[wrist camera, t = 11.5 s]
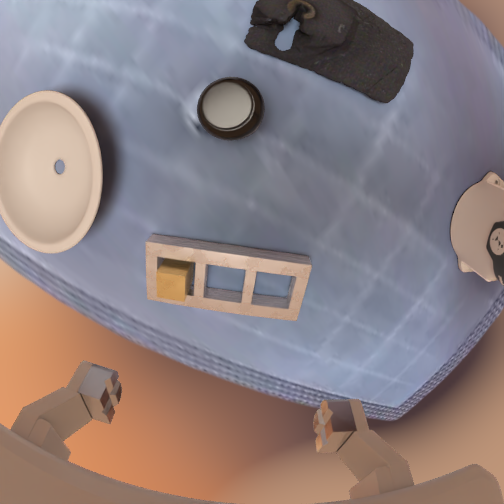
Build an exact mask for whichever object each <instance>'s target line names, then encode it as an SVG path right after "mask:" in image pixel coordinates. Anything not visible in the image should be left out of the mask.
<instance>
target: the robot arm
mask: <svg viewBox="0 0 504 504" xmlns="http://www.w3.org/2000/svg"><path fill="white" fill-rule="evenodd" d="M451 242H452V246H453V248H454V250H455V252H456V254H457V256H458V265H459V269H460V270H461V271H463V272H472V271H474V272H476V273H477V274H478V275H480V276H481V277H482V278H484V279H485V280H486V281H488V282H490V281H496V280H499V281H500V282H501V284H502V285H503V286H504V181H503V180H502V179H501V178H500V177H499V176H498V175H497V174H495V173H493V172H489V173H487V175H486V176H485V177H484V178H483V180H482V181H480V182H479V183H477V184H475V185H473V186H471V187H470V188H469V189H468V190H467V191H466V192H465V193H464V194H463V195H462V197H461V198H460V200H459V202H458V204H457V206H456V208H455V211H454V214H453V217H452V222H451ZM118 377H119V376H118V372H117V371H115V370H112V369H108V368H105V367H102V366H99V365H96V364H93V363H90V362H87V361H83V362H81V363H80V365H79V367H78V368H77V370H76V372H75V373H74V375H73V377H72V378H71V380H70V382H69V384H68V385H67V387H66V388H64V387H62V388H60V389H58V390H57V391H55V392H53V393H51V394H49V395H47V396H45V397H43V398H41V399H39V400H37V401H35V402H33V403H31V404H29V405H27V406H25V407H23V409H22V410H21V412H20V413H19V415H18V417H17V419H16V420H15V422H14V424H13V426H12V428H11V429H8V428H6V427H5V426H3V425H2V424H0V504H234V503H223V502H214V501H205V500H199V499H193V498H187V497H181V496H176V495H171V494H166V493H162V492H158V491H153V490H149V489H145V488H142V487H138V486H135V485H131V484H128V483H125V482H121V481H118V480H115V479H112V478H109V477H106V476H104V475H101V474H98V473H96V472H93V471H90V470H88V469H85V468H83V467H80V466H78V465H76V464H73V463H71V462H69V461H68V458H69V456H70V453H71V452H70V450H69V448H68V447H67V446H66V444H65V443H64V442H63V441H64V440H65V439H67V438H68V437H70V436H71V435H72V434H73V433H75V432H76V431H78V430H79V429H80V428H82V427H83V426H84V425H86V424H87V423H88V422H90V421H91V420H92V419H95V420H98V421H101V422H105V423H108V424H111V421H112V419H113V416H114V414H115V410H114V408H113V407H114V406H116V405H117V404H119V401H120V398H121V393H122V387H121V383H120V382H119V381H118V380H117V379H118ZM313 426H314V431H315V432H316V433H317V434H318V437H317V438H316V448H317V452H318V453H330V452H337V453H336V454H337V455H338V456H339V457H340V459H341V460H342V461H343V462H344V463H345V465H346V466H347V467H348V468H349V470H350V471H351V472H352V473H353V474H354V476H355V477H356V478H357V479H358V480H359V483H358V484H356V485H355V486H354V487H352V488H351V489H350V490H349V492H350V498H351V499H350V500H343V501H336V502H327V503H317V504H504V500H503V497H502V493H501V489H500V486H499V483H498V481H497V479H496V477H495V476H494V475H493V474H491V473H490V472H489V471H487V470H486V469H484V468H483V467H481V466H480V465H477V464H472V465H469V466H467V467H464V468H462V469H459V470H457V471H454V472H452V473H449V474H446V475H444V476H441V477H438V478H435V479H433V480H430V481H427V482H423V483H420V484H417V485H414V482H413V479H412V475H411V472H410V469H409V465H408V462H407V460H405V459H404V458H403V457H402V456H401V455H400V454H399V453H397V452H396V451H395V450H394V449H393V448H392V447H391V446H389V445H388V444H387V443H386V442H385V441H384V440H383V439H382V438H380V437H379V436H378V435H377V434H376V433H375V432H374V431H373V430H369V427H368V424H367V421H366V417H365V414H364V410H363V407H362V404H361V401H360V400H359V399H328V400H323V401H322V403H321V409H319V410H317V412H316V414H315V416H314V423H313Z"/></svg>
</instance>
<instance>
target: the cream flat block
mask: <svg viewBox="0 0 504 504" xmlns="http://www.w3.org/2000/svg"><path fill="white" fill-rule="evenodd" d="M163 257H164V258H170V259H177V260H183V261H190V262H196V266H195V282H194V285H191V287H190V289H189V292H188V294H187V297H186V299H185V302H182V301H176V300H170V299H164V298H159V297H157V285H156V272H157V270H158V269H159V267H160V265H161V264H162V262H163ZM208 264H210V265H217V266H224V267H231V268H238V269H245V270H246V271H245V278H244V284H243V291H242V292H237V291H230V290H223V289H216V288H209V287H206V285H207V273H208ZM311 267H312V264H311V261H310V259H309V256H305V255H298V254H291V253H284V252H277V251H270V250H263V249H256V248H249V247H242V246H235V245H228V244H221V243H214V242H207V241H200V240H193V239H186V238H179V237H172V236H165V235H158V234H152V235H151V236H150V237H149V239H148V240H147V241H146V278H147V299H150V300H155V301H160V302H166V303H171V304H177V305H183V306H189V307H195V308H201V309H208V310H214V311H221V312H228V313H235V314H243V315H250V316H258V317H266V318H275V319H283V320H293V321H297V317H298V314H299V311H300V307H301V304H302V300H303V297H304V293H305V289H306V286H307V282H308V279H309V275H310V271H311ZM257 271H259V272H266V273H274V274H281V275H289V276H292V279H291V283H290V287H289V291H288V295H287V298H282V297H274V296H266V295H259V294H253V289H254V284H255V278H256V273H257Z"/></svg>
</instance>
